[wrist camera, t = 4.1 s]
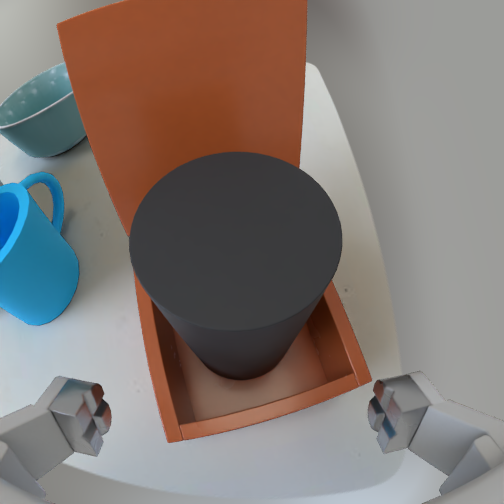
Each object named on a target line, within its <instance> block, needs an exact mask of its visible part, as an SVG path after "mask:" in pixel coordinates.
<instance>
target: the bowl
mask: <svg viewBox="0 0 504 504" xmlns="http://www.w3.org/2000/svg"><path fill="white" fill-rule="evenodd" d="M0 133H1V134H2V135H3V136H4V137H5V138H7V139H8V140H9V141H10V142H12V143H13V144H14V145H16V146H17V147H18V148H20V149H21V150H22V151H24V152H25V153H26V154H28V155H29V156H32V157H50V156H55V155H58V154H60V153H63V152H65V151H67V150H69V149H70V148H72V147H73V146H75V145H76V144H78V143H79V142H80V141H81V140H82V139H83V138H84V137H85V136H86V135H87V134H86V131H85V128H84V125H83V122H82V119H81V116H80V113H79V110H78V107H77V104H76V100H75V97H74V94H73V90H72V87H71V83H70V80H69V76H68V72H67V68H66V64H65V62H64V63H61V64H59V65H56V66H54V67H52V68H50V69H48V70H46V71H44V72H42V73H40V74H39V75H37V76H35V77H34V78H32V79H31V80H29V81H27V82H26V83H24V84H23V85H22V86H20V87H19V88H18V89H17V90H15V91H14V92H13V93H12V94H11V95H10V96H9V97H8V98H7V99H6V100H5V101H4V102H3V103H2V104H1V105H0Z"/></svg>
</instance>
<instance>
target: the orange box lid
mask: <svg viewBox="0 0 504 504" xmlns="http://www.w3.org/2000/svg"><path fill="white" fill-rule="evenodd" d="M57 30H58V34H59V39H60V44H61V48H62V52H63V56H64V60H65V64H66V68H67V72H68V76H69V80H70V83H71V87H72V90H73V94H74V97H75V100H76V104H77V107H78V110H79V113H80V116H81V119H82V122H83V125H84V128H85V131H86V134H87V137H88V140H89V143H90V146H91V148H92V151H93V154H94V157H95V159H96V162H97V165H98V167H99V170H100V172H101V175H102V177H103V180H104V182H105V185H106V187H107V190H108V192H109V195H110V197H111V200H112V202H113V204H114V207H115V209H116V211H117V213H118V216H119V218H120V220H121V223H122V225H123V227H124V229H125V231H126V234H127V236H130V230H131V225H132V222H133V218H134V215H135V213H136V211H137V209H138V206H139V205H140V203H141V201H142V200H143V198H144V197H145V195H146V194H147V193H148V192H149V190H150V189H151V188H152V187H153V186H154V185H155V184H156V183H157V182H158V181H159V180H160V179H161V178H162V177H164V176H165V175H166V174H168V173H169V172H170V171H172V170H174V169H175V168H177V167H179V166H181V165H183V164H185V163H187V162H189V161H191V160H194V159H197V158H200V157H203V156H207V155H211V154H216V153H223V152H252V153H259V154H264V155H268V156H272V157H275V158H278V159H281V160H283V161H286V162H288V163H290V164H292V165H294V166H296V167H297V168H299V165H300V152H301V138H302V123H303V106H304V88H305V66H306V37H307V36H306V35H307V0H124V1H120V2H117V3H113V4H110V5H107V6H103V7H100V8H97V9H94V10H92V11H89V12H86V13H83V14H80V15H78V16H75V17H73V18H70V19H67V20H65V21H63V22H60V23H58V24H57Z"/></svg>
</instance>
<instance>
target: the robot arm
mask: <svg viewBox="0 0 504 504" xmlns="http://www.w3.org/2000/svg"><path fill="white" fill-rule="evenodd" d="M373 392H374V393H375V396H374V397H373V398H372V399H371V400H370V402H369V406H368V420H369V424H370V426H371V428H372V429H373V430H375V431H377V432H378V436H377V441H378V443H379V445H380V447H381V449H382V452H383V454H385V453H389V452H393V451H397V450H401V449H405V448H408V449H409V450H410V451H412V452H413V453H415V454H416V455H418V456H419V457H421V458H422V459H423V460H425V461H427V462H428V463H429V464H431V465H433V466H434V467H435V468H437V469H439V470H440V471H442V472H443V473H445V474H446V475H448V476H449V477H448V478H447V479H446V481H445V482H444V483H443V484H442V485H441V487H440V489H439V491H440V493H441V496H439V497H436V498H435V499H432V500H429V501H427V502H425V503H422V504H504V421H503V420H500V419H497V418H495V417H492V416H490V415H487V414H484V413H482V412H479V411H477V410H474V409H472V408H469V407H467V406H464V405H462V404H459V403H456V402H454V401H452V400H447V401H446V400H445V399H444V398H443V397H442V395H441V394H440V393H439V391H437V389H436V388H435V387H434V385H433V384H432V383H431V382H430V380H429V379H428V378H427V377H426V376H425V374H424V373H423V372H420V371H417V372H413V373H409V374H406V375H401V376H396V377H391V378H386V379H381V380H377V381H376V383H375V385H374V388H373ZM103 395H104V391H103V389H102V386H101V385H99V384H98V383H92V382H87V381H82V380H77V379H72V378H66V377H62V376H58V377H55V379H54V380H53V381H52V383H51V384H50V385H49V386H48V388H47V389H46V390H45V392H44V393H43V394H42V396H41V397H40V398H39V400H38V401H37V402H36V404H35V405H28V406H26V407H24V408H22V409H20V410H17V411H15V412H13V413H11V414H8V415H6V416H4V417H2V418H0V504H55V503H52V502H50V501H48V500H45V499H44V498H45V496H46V493H45V491H44V489H43V488H42V487H41V486H40V485H39V483H38V482H37V480H38V479H39V478H41V477H42V476H44V475H45V474H46V473H48V472H49V471H50V470H52V469H53V468H54V467H56V466H57V465H58V464H60V463H61V462H62V461H64V460H65V459H66V458H68V457H69V456H70V455H72V454H73V453H74V451H75V452H79V453H83V454H87V455H91V456H96V457H97V456H98V454H99V451H100V449H101V447H102V445H103V442H104V441H103V439H102V435H104V434H105V433H107V432H108V431H109V428H110V426H111V417H112V416H111V410H110V407H109V405H108V403H106V402H105V401H104V400H103V399H102V397H103Z"/></svg>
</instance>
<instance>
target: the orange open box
mask: <svg viewBox="0 0 504 504" xmlns="http://www.w3.org/2000/svg"><path fill="white" fill-rule="evenodd" d="M133 270H134V269H133ZM134 279H135V287H136V295H137V302H138V309H139V316H140V322H141V328H142V334H143V340H144V345H145V351H146V356H147V361H148V366H149V371H150V375H151V380H152V384H153V389H154V393H155V397H156V401H157V405H158V409H159V413H160V417H161V421H162V425H163V428H164V432H165V435H166V439H167V442H168V443H172V442H178V441H183V440H190V439H195V438H200V437H205V436H210V435H214V434H219V433H223V432H227V431H231V430H235V429H239V428H243V427H247V426H250V425H254V424H258V423H261V422H265V421H268V420H271V419H275V418H278V417H281V416H284V415H287V414H290V413H293V412H296V411H299V410H302V409H305V408H308V407H310V406H313V405H316V404H318V403H321V402H324V401H326V400H329V399H331V398H334V397H336V396H339V395H341V394H344V393H346V392H348V391H351V390H353V389H355V388H358V387H360V386H362V385H364V384H367V383H369V382H371V381H372V378H371V375H370V373H369V370H368V367H367V365H366V362H365V360H364V357H363V354H362V352H361V349H360V347H359V344H358V342H357V339H356V337H355V334H354V332H353V329H352V327H351V324H350V322H349V320H348V317H347V315H346V312H345V310H344V308H343V305H342V303H341V300H340V298H339V296H338V293H337V291H336V289H335V287H334V284H333V282H332V280H331V282H330V283H329V285H328V287H327V289H326V290H325V292H324V294H323V295H322V297H321V299H320V300H319V302H318V304H317V305H316V307H315V308H314V310H313V312H312V313H311V315H310V317H309V318H308V320H307V321H306V323H305V325H304V326H303V328H302V329H301V331H300V332H299V334H298V336H297V337H296V339H295V340H294V342H293V343H292V345H291V346H290V348H289V349H288V351H287V352H286V354H285V355H284V357H283V358H282V360H281V361H280V362H279V363H278V365H277V366H276V367H275V368H273V369H272V370H271V371H269V372H268V373H266V374H264V375H262V376H260V377H257V378H254V379H250V380H233V379H228V378H225V377H222V376H220V375H217V374H216V373H214V372H212V371H211V370H210V369H209V368H207V367H206V366H205V365H204V364H203V362H202V361H201V360H200V359H199V358H198V357H197V356H196V354H195V353H194V352H193V351H192V350H191V348H190V347H189V346H188V345H187V344H186V342H185V341H184V340H183V339H182V338H181V336H180V335H179V334H178V333H177V331H176V330H175V329H174V328H173V326H172V325H171V324H170V323H169V321H168V320H167V319H166V318H165V316H164V315H163V314H162V312H161V311H160V310H159V309H158V307H157V306H156V305H155V303H154V302H153V301H152V299H151V298H150V297H149V295H148V294H147V293H146V291H145V290H144V289H143V287H142V286H141V284H140V282H139V280H138V278H137V276H136V274H135V272H134Z"/></svg>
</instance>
